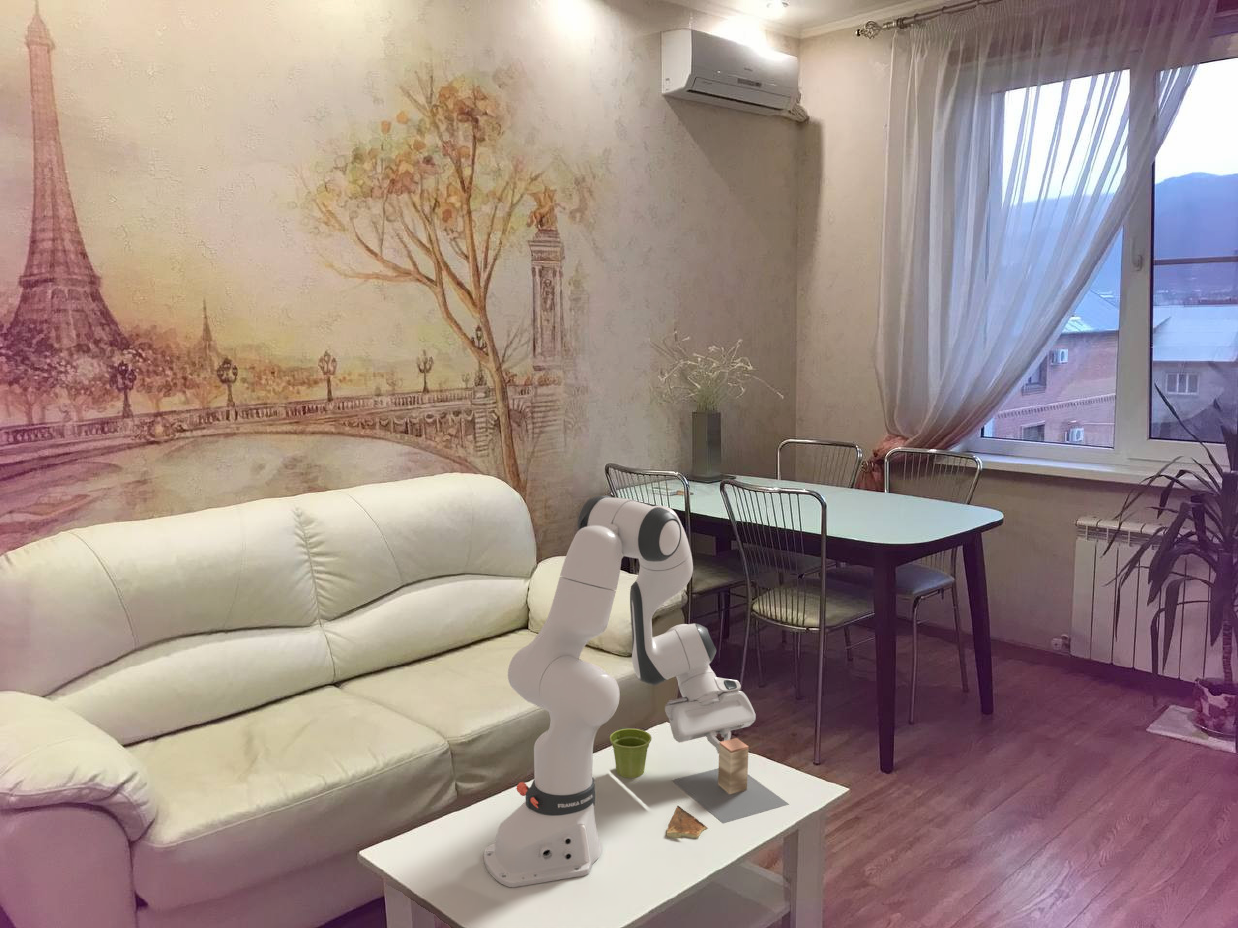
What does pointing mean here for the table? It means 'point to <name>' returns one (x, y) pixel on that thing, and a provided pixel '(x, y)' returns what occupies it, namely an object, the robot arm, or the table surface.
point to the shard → (684, 825)
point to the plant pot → (630, 751)
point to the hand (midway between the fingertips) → (725, 751)
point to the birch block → (733, 765)
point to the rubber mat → (729, 796)
